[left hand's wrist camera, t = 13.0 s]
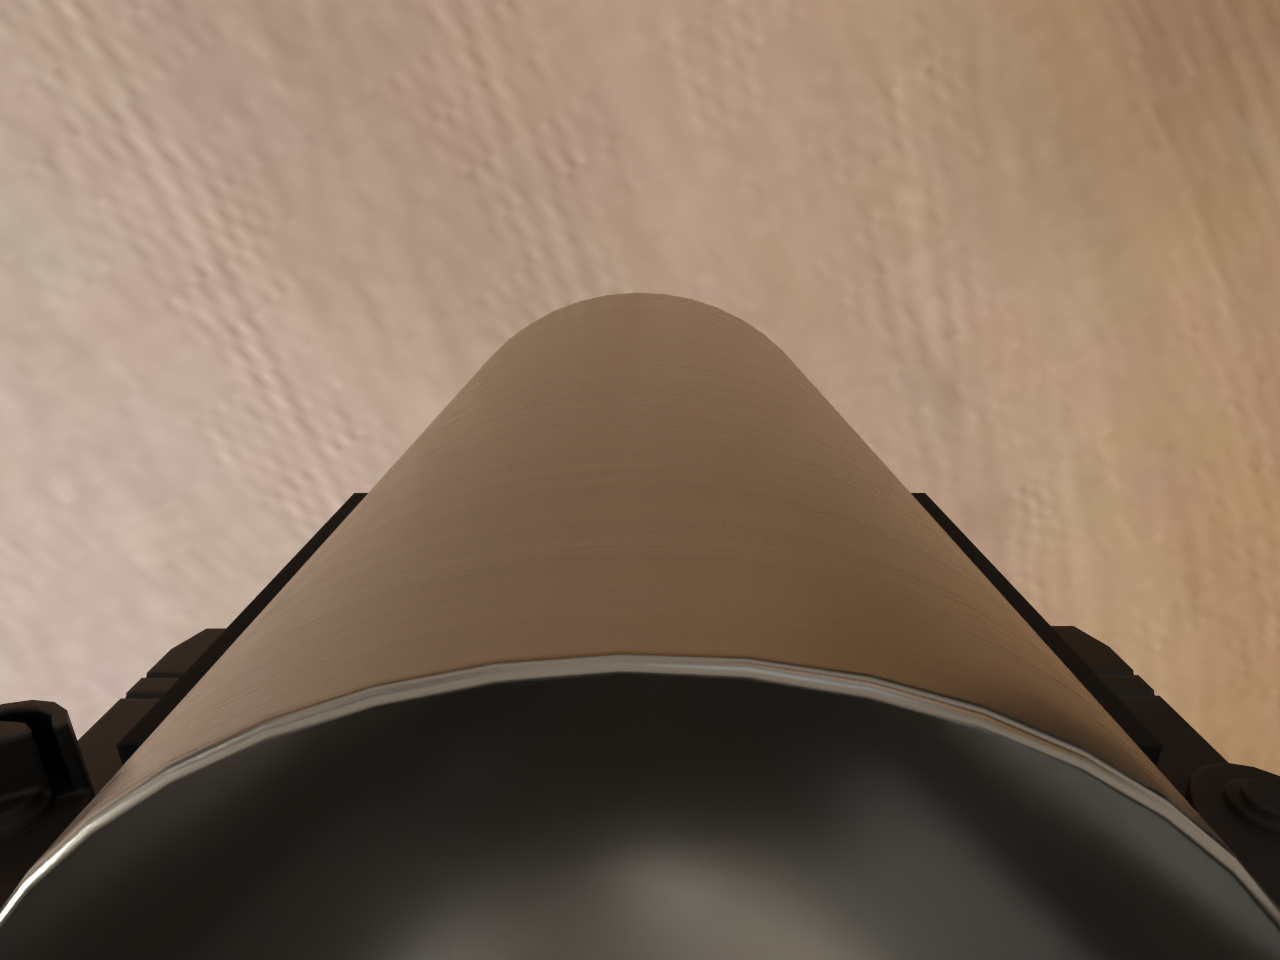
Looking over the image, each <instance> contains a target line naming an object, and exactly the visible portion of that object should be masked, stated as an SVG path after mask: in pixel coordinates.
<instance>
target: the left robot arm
mask: <svg viewBox="0 0 1280 960" xmlns="http://www.w3.org/2000/svg"><path fill="white" fill-rule="evenodd" d="M367 494H368V493H354V494H353V495H352V496H351V497H350V498H349V499H348V500H347V501H346V503H345V504H344V505H343V506H342V507H341V508H340V509H339V510H338V511H337V512H336V513H335V514H334V515H333V516H332V517H331V518H330V519H329V521H328V522H327V523H326V524H325V525H324V526H323V527H322V528H321V529H320V530H319V531H318V532H317V533H316V534H315V535H314V536H313V537H312V539H311V540H310V541H309V542H308V543H307V544H306V545H305V546H304V547H303V548H302V549H301V550H300V551H299V552H298V553H297V554H296V555H295V557H294V558H293V559H292V560H291V561H290V562H289V563H288V564H287V565H286V566H285V567H284V568H283V569H282V570H281V571H280V572H279V573H278V575H277V576H276V577H275V578H274V579H273V580H272V581H271V582H270V583H269V584H268V585H267V586H266V587H265V588H264V589H263V590H262V591H261V593H260V594H259V595H258V596H257V597H256V598H255V599H254V600H253V601H252V602H251V603H250V604H249V605H248V606H247V607H246V608H245V609H244V611H243V612H242V613H241V614H240V615H239V616H238V617H237V618H236V619H235V620H234V621H233V622H232V623H231V624H230V625H229V626H228V627H227V629H205V630H203V631H202V632H200V633H198V634H196V635H195V636H193V637H191V638H190V639H188V640H186V641H184V642H183V643H181V644H179V645H178V646H176V647H174V648H172V649H171V650H170V651H169V652H168V653H167V654H166V655H165V656H164V657H163V658H162V659H161V660H160V661H159V662H158V663H157V664H156V665H155V666H154V667H153V668H152V669H151V670H149V671H148V672H147V677H146V678H141V679H140V680H139V681H138V682H137V683H136V684H135V685H134V686H133V687H132V688H131V689H130V690H129V691H128V692H127V693H126V698H125V699H120V700H119V701H118V702H117V703H116V704H115V705H114V706H113V707H112V708H111V709H110V710H109V711H108V712H107V713H106V714H105V715H103V716H102V717H101V718H100V719H99V720H98V721H97V722H96V723H95V724H94V725H93V726H92V727H91V728H90V729H89V730H88V731H87V732H86V733H85V734H84V735H83V736H82V737H81V738H80V739H79V740H78V741H77V738H76V736H75V733H74V730H73V727H72V724H71V721H70V718H69V715H68V712H67V710H66V709H64V708H63V707H61V706H60V705H58V704H56V703H55V702H48V701H38V700H28V701H21V702H14V703H7V704H1V705H0V909H1V907H2V906H3V905H4V903H5V902H6V901H7V899H8V898H9V896H10V895H11V894H12V892H13V891H14V890H15V888H16V887H17V886H18V884H19V883H20V881H21V880H22V879H23V877H24V876H25V875H26V873H27V872H28V871H29V869H30V868H31V867H32V866H33V865H34V864H35V863H36V862H37V861H38V859H39V858H40V857H41V856H42V855H43V854H44V853H45V852H46V851H47V849H48V848H49V847H50V846H51V845H52V844H53V843H54V842H55V841H56V839H57V838H58V837H59V836H60V835H61V834H62V833H63V832H64V831H65V829H66V828H67V827H68V826H69V825H70V824H71V823H72V822H73V821H74V819H75V818H76V817H77V816H78V815H79V814H80V813H81V812H82V811H83V809H84V808H85V807H86V806H87V805H88V804H89V803H90V802H91V801H92V799H93V798H94V797H95V796H96V795H97V794H98V793H99V792H100V791H101V789H102V788H103V787H104V786H105V785H106V784H107V783H108V782H109V781H110V779H111V778H112V777H113V776H114V775H115V774H116V773H117V772H118V771H119V769H120V768H121V767H122V766H123V765H124V764H125V763H126V762H127V761H128V759H129V758H130V757H131V756H132V755H133V754H134V753H135V752H136V751H137V749H138V748H139V747H140V746H141V745H142V744H143V743H144V742H145V741H146V739H147V738H148V737H149V736H150V735H151V734H152V733H153V732H154V731H155V729H156V728H157V727H158V726H159V725H160V724H161V723H162V722H163V721H164V719H165V718H166V717H167V716H168V715H169V714H170V713H171V712H172V711H173V710H174V708H175V707H176V706H177V705H178V704H179V703H180V702H181V701H182V700H183V698H184V697H185V696H186V695H187V694H188V693H189V692H190V691H191V690H192V688H193V687H194V686H195V685H196V684H197V683H198V682H199V681H200V680H201V678H202V677H203V676H204V675H205V674H206V673H207V672H208V671H209V670H210V668H211V667H212V666H213V665H214V664H215V663H216V662H217V661H218V660H219V658H220V657H221V656H222V655H223V654H224V653H225V652H226V651H227V650H228V648H229V647H230V646H231V645H232V644H233V643H234V642H235V641H236V640H237V638H238V637H239V636H240V635H241V634H242V633H243V632H244V631H245V630H246V628H247V627H248V626H249V625H250V624H251V623H252V622H253V621H254V620H255V618H256V617H257V616H258V615H259V614H260V613H261V612H262V611H263V610H264V608H265V607H266V606H267V605H268V604H269V603H270V602H271V601H272V600H273V598H274V597H275V596H276V595H277V594H278V593H279V592H280V591H281V590H282V588H283V587H284V586H285V585H286V584H287V583H288V582H289V581H290V580H291V578H292V577H293V576H294V575H295V574H296V573H297V572H298V571H299V570H300V568H301V567H302V566H303V565H304V564H305V563H306V562H307V561H308V560H309V558H310V557H311V556H312V555H313V554H314V553H315V552H316V551H317V550H318V548H319V547H320V546H321V545H322V544H323V543H324V542H325V541H326V540H327V538H328V537H329V536H330V535H331V534H332V533H333V532H334V531H335V530H336V529H337V527H338V526H339V525H340V524H341V523H342V522H343V521H344V520H345V519H346V517H347V516H348V515H349V514H350V513H351V512H352V511H353V510H354V509H355V507H356V506H357V505H358V504H359V503H360V502H361V501H362V500H363V499H364V497H365V496H366V495H367ZM911 494H912V495H913V496H914V498H915V499H916V500H917V501H918V502H919V503H920V504H921V505H922V506H923V508H924V509H925V510H926V511H927V512H928V513H929V514H930V515H931V516H932V518H933V519H934V520H935V521H936V522H937V523H938V524H939V525H940V526H941V528H942V529H943V530H944V531H945V532H946V533H947V534H948V535H949V537H950V538H951V539H952V540H953V541H954V542H955V543H956V544H957V545H958V547H959V548H960V549H961V550H962V551H963V552H964V553H965V554H966V555H967V557H968V558H969V559H970V560H971V561H972V562H973V563H974V564H975V565H976V567H977V568H978V569H979V570H980V571H981V572H982V573H983V574H984V575H985V577H986V578H987V579H988V580H989V581H990V582H991V583H992V584H993V586H994V587H995V588H996V589H997V590H998V591H999V592H1000V593H1001V594H1002V596H1003V597H1004V598H1005V599H1006V600H1007V601H1008V602H1009V603H1010V604H1011V606H1012V607H1013V608H1014V609H1015V610H1016V611H1017V612H1018V613H1019V614H1020V616H1021V617H1022V618H1023V619H1024V620H1025V621H1026V622H1027V623H1028V624H1029V626H1030V627H1031V628H1032V629H1033V630H1034V631H1035V632H1036V633H1037V635H1038V636H1039V637H1040V638H1041V639H1042V640H1043V641H1044V642H1045V643H1046V645H1047V646H1048V647H1049V648H1050V649H1051V650H1052V651H1053V652H1054V653H1055V655H1056V656H1057V657H1058V658H1059V659H1060V660H1061V661H1062V662H1063V663H1064V665H1065V666H1066V667H1067V668H1068V669H1069V670H1070V671H1071V672H1072V673H1073V675H1074V676H1075V677H1076V678H1077V679H1078V680H1079V681H1080V682H1081V684H1082V685H1083V686H1084V687H1085V688H1086V689H1087V690H1088V691H1089V692H1090V694H1091V695H1092V696H1093V697H1094V698H1095V699H1096V700H1097V701H1098V702H1099V704H1100V705H1101V706H1102V707H1103V708H1104V709H1105V710H1106V711H1107V712H1108V714H1109V715H1110V716H1111V717H1112V718H1113V719H1114V720H1115V721H1116V722H1117V724H1118V725H1119V726H1120V727H1121V728H1122V729H1123V730H1124V731H1125V733H1126V734H1127V735H1128V736H1129V737H1130V738H1131V739H1132V740H1133V741H1134V743H1135V744H1136V745H1137V746H1138V747H1139V748H1140V749H1141V750H1142V751H1143V753H1144V754H1145V755H1146V756H1147V757H1148V758H1149V759H1150V760H1151V761H1152V763H1153V764H1154V765H1155V766H1156V767H1157V768H1158V769H1159V770H1160V771H1161V773H1162V774H1163V775H1164V776H1165V777H1166V778H1167V779H1168V780H1169V781H1170V783H1171V784H1172V785H1173V786H1174V787H1175V788H1176V789H1177V790H1178V792H1179V793H1180V794H1181V795H1182V796H1183V797H1184V798H1185V799H1186V800H1187V802H1188V803H1189V804H1190V805H1191V806H1192V807H1193V808H1194V809H1195V810H1196V812H1197V813H1198V814H1199V815H1200V816H1201V817H1202V818H1203V819H1204V820H1205V822H1206V823H1207V824H1208V825H1209V826H1210V827H1211V828H1212V829H1213V830H1214V832H1215V833H1216V834H1217V835H1218V836H1219V837H1220V838H1221V839H1222V841H1223V842H1224V843H1225V844H1226V845H1227V846H1228V847H1229V848H1230V849H1231V851H1232V852H1233V853H1234V854H1235V855H1236V856H1237V858H1238V859H1239V860H1240V861H1241V862H1242V864H1243V865H1244V866H1245V867H1246V868H1247V870H1248V871H1249V872H1250V873H1251V874H1252V876H1253V877H1254V878H1255V879H1256V881H1257V882H1258V883H1259V884H1260V885H1261V887H1262V888H1263V889H1264V890H1265V891H1266V893H1267V894H1268V895H1269V896H1270V897H1271V899H1272V900H1273V901H1274V902H1275V903H1276V905H1277V906H1278V907H1279V908H1280V776H1278V775H1275V774H1272V773H1269V772H1266V771H1263V770H1260V769H1258V768H1255V767H1250V766H1244V765H1237V764H1231V763H1228V762H1227V761H1226V760H1225V759H1224V758H1223V757H1222V756H1221V755H1220V754H1219V753H1218V752H1217V751H1216V750H1215V749H1214V748H1213V747H1212V746H1211V745H1210V744H1209V743H1208V742H1207V741H1205V740H1204V739H1203V738H1202V737H1201V736H1200V735H1199V734H1198V733H1197V732H1196V731H1195V730H1194V729H1193V728H1192V727H1191V726H1190V725H1189V724H1188V723H1187V722H1186V721H1185V720H1184V719H1183V718H1182V717H1181V716H1180V715H1179V714H1178V713H1177V712H1176V711H1175V710H1174V709H1173V708H1172V707H1170V706H1169V705H1168V704H1167V703H1166V702H1165V701H1164V700H1163V699H1162V698H1161V697H1160V696H1155V695H1154V690H1153V689H1152V688H1151V687H1150V686H1149V685H1148V684H1147V683H1146V682H1145V681H1144V680H1143V679H1142V678H1141V677H1140V676H1139V675H1134V673H1133V670H1132V669H1131V668H1130V667H1129V666H1128V665H1127V664H1126V663H1125V662H1124V661H1123V660H1122V659H1121V658H1120V657H1119V656H1118V655H1117V654H1116V653H1115V652H1114V651H1113V650H1112V649H1111V648H1110V647H1109V646H1107V645H1105V644H1104V643H1102V642H1100V641H1098V640H1097V639H1095V638H1093V637H1091V636H1090V635H1088V634H1086V633H1085V632H1083V631H1081V630H1079V629H1078V628H1076V627H1074V626H1050V625H1049V624H1048V623H1047V622H1046V621H1045V620H1044V619H1043V617H1042V616H1041V615H1040V614H1039V613H1038V612H1037V611H1036V610H1035V609H1034V608H1033V607H1032V606H1031V605H1030V604H1029V603H1028V602H1027V601H1026V599H1025V598H1024V597H1023V596H1022V595H1021V594H1020V593H1019V592H1018V591H1017V590H1016V589H1015V588H1014V587H1013V586H1012V585H1011V584H1010V583H1009V581H1008V580H1007V579H1006V578H1005V577H1004V576H1003V575H1002V574H1001V573H1000V572H999V571H998V570H997V569H996V568H995V567H994V566H993V564H992V563H991V562H990V561H989V560H988V559H987V558H986V557H985V556H984V555H983V554H982V553H981V552H980V551H979V550H978V549H977V548H976V546H975V545H974V544H973V543H972V542H971V541H970V540H969V539H968V538H967V537H966V536H965V535H964V534H963V533H962V532H961V531H960V530H959V528H958V527H957V526H956V525H955V524H954V523H953V522H952V521H951V520H950V519H949V518H948V517H947V516H946V515H945V514H944V513H943V512H942V510H941V509H940V508H939V507H938V506H937V505H936V504H935V503H934V502H933V501H932V500H931V499H930V498H929V497H928V496H927V495H926V494H925V493H911Z"/></svg>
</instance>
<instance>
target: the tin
mask: <svg viewBox="0 0 1280 960" xmlns="http://www.w3.org/2000/svg"><path fill="white" fill-rule="evenodd" d="M0 960H1280V908H1279V907H1278V906H1277V905H1276V903H1275V902H1274V901H1273V900H1272V899H1271V897H1270V896H1269V895H1268V894H1267V893H1266V891H1265V890H1264V889H1263V888H1262V887H1261V885H1260V884H1259V883H1258V882H1257V881H1256V879H1255V878H1254V877H1253V876H1252V874H1251V873H1250V872H1249V871H1248V870H1247V868H1246V867H1245V866H1244V865H1243V864H1242V862H1241V861H1240V860H1239V859H1238V858H1237V856H1236V855H1235V854H1234V853H1233V852H1232V851H1231V849H1230V848H1229V847H1228V846H1227V845H1226V844H1225V843H1224V842H1223V841H1222V839H1221V838H1220V837H1219V836H1218V835H1217V834H1216V833H1215V832H1214V830H1213V829H1212V828H1211V827H1210V826H1209V825H1208V824H1207V823H1206V822H1205V820H1204V819H1203V818H1202V817H1201V816H1200V815H1199V814H1198V813H1197V812H1196V810H1195V809H1194V808H1193V807H1192V806H1191V805H1190V804H1189V803H1188V802H1187V800H1186V799H1185V798H1184V797H1183V796H1182V795H1181V794H1180V793H1179V792H1178V790H1177V789H1176V788H1175V787H1174V786H1173V785H1172V784H1171V783H1170V781H1169V780H1168V779H1167V778H1166V777H1165V776H1164V775H1163V774H1162V773H1161V771H1160V770H1159V769H1158V768H1157V767H1156V766H1155V765H1154V764H1153V763H1152V761H1151V760H1150V759H1149V758H1148V757H1147V756H1146V755H1145V754H1144V753H1143V751H1142V750H1141V749H1140V748H1139V747H1138V746H1137V745H1136V744H1135V743H1134V741H1133V740H1132V739H1131V738H1130V737H1129V736H1128V735H1127V734H1126V733H1125V731H1124V730H1123V729H1122V728H1121V727H1120V726H1119V725H1118V724H1117V722H1116V721H1115V720H1114V719H1113V718H1112V717H1111V716H1110V715H1109V714H1108V712H1107V711H1106V710H1105V709H1104V708H1103V707H1102V706H1101V705H1100V704H1099V702H1098V701H1097V700H1096V699H1095V698H1094V697H1093V696H1092V695H1091V694H1090V692H1089V691H1088V690H1087V689H1086V688H1085V687H1084V686H1083V685H1082V684H1081V682H1080V681H1079V680H1078V679H1077V678H1076V677H1075V676H1074V675H1073V673H1072V672H1071V671H1070V670H1069V669H1068V668H1067V667H1066V666H1065V665H1064V663H1063V662H1062V661H1061V660H1060V659H1059V658H1058V657H1057V656H1056V655H1055V653H1054V652H1053V651H1052V650H1051V649H1050V648H1049V647H1048V646H1047V645H1046V643H1045V642H1044V641H1043V640H1042V639H1041V638H1040V637H1039V636H1038V635H1037V633H1036V632H1035V631H1034V630H1033V629H1032V628H1031V627H1030V626H1029V624H1028V623H1027V622H1026V621H1025V620H1024V619H1023V618H1022V617H1021V616H1020V614H1019V613H1018V612H1017V611H1016V610H1015V609H1014V608H1013V607H1012V606H1011V604H1010V603H1009V602H1008V601H1007V600H1006V599H1005V598H1004V597H1003V596H1002V594H1001V593H1000V592H999V591H998V590H997V589H996V588H995V587H994V586H993V584H992V583H991V582H990V581H989V580H988V579H987V578H986V577H985V575H984V574H983V573H982V572H981V571H980V570H979V569H978V568H977V567H976V565H975V564H974V563H973V562H972V561H971V560H970V559H969V558H968V557H967V555H966V554H965V553H964V552H963V551H962V550H961V549H960V548H959V547H958V545H957V544H956V543H955V542H954V541H953V540H952V539H951V538H950V537H949V535H948V534H947V533H946V532H945V531H944V530H943V529H942V528H941V526H940V525H939V524H938V523H937V522H936V521H935V520H934V519H933V518H932V516H931V515H930V514H929V513H928V512H927V511H926V510H925V509H924V508H923V506H922V505H921V504H920V503H919V502H918V501H917V500H916V499H915V498H914V496H913V495H912V494H911V493H910V492H909V491H908V490H907V489H906V488H905V486H904V485H903V484H902V483H901V482H900V481H899V480H898V479H897V478H896V476H895V475H894V474H893V473H892V472H891V471H890V470H889V469H888V467H887V466H886V465H885V464H884V463H883V462H882V461H881V460H880V459H879V457H878V456H877V455H876V454H875V453H874V452H873V451H872V450H871V449H870V447H869V446H868V445H867V444H866V443H865V442H864V441H863V440H862V439H861V437H860V436H859V435H858V434H857V433H856V432H855V431H854V430H853V429H852V427H851V426H850V425H849V424H848V423H847V422H846V421H845V420H844V418H843V417H842V416H841V415H840V414H839V413H838V412H837V411H836V410H835V408H834V407H833V406H832V405H831V404H830V403H829V402H828V401H827V400H826V398H825V397H824V396H823V395H822V394H821V393H820V392H819V391H818V390H817V388H816V387H815V386H814V385H813V384H812V383H811V382H810V381H809V380H808V378H807V377H806V376H805V375H804V374H803V373H802V372H801V371H800V369H799V368H798V367H797V366H796V365H795V364H794V363H793V362H792V361H791V359H790V358H789V357H788V356H787V355H786V354H785V353H784V352H783V351H782V350H781V349H780V348H779V347H778V346H776V345H775V344H774V343H773V342H772V341H771V340H770V339H769V338H767V337H766V336H765V335H764V334H763V333H761V332H760V331H758V330H757V329H755V328H754V327H752V326H751V325H749V324H748V323H746V322H745V321H743V320H742V319H739V318H737V317H735V316H733V315H731V314H729V313H727V312H725V311H723V310H721V309H719V308H717V307H714V306H710V305H707V304H704V303H701V302H698V301H695V300H692V299H688V298H682V297H677V296H671V295H666V294H651V293H627V294H616V295H606V296H602V297H597V298H593V299H589V300H584V301H580V302H577V303H575V304H572V305H569V306H567V307H564V308H561V309H558V310H556V311H554V312H552V313H550V314H548V315H546V316H544V317H542V318H541V319H539V320H537V321H535V322H533V323H531V324H530V325H528V326H527V327H526V328H524V329H523V330H521V331H520V332H519V333H517V334H516V335H515V336H513V337H512V338H511V339H509V340H508V341H507V342H506V343H505V344H504V345H503V346H502V347H501V348H500V349H499V350H498V351H497V352H496V353H495V354H494V355H493V356H492V357H491V358H490V359H489V360H488V361H487V362H486V363H485V364H484V365H483V366H482V367H481V369H480V370H479V371H478V372H477V373H476V374H475V375H474V376H473V377H472V379H471V380H470V381H469V382H468V383H467V384H466V385H465V386H464V387H463V389H462V390H461V391H460V392H459V393H458V394H457V395H456V396H455V397H454V399H453V400H452V401H451V402H450V403H449V404H448V405H447V406H446V407H445V409H444V410H443V411H442V412H441V413H440V414H439V415H438V416H437V417H436V419H435V420H434V421H433V422H432V423H431V424H430V425H429V426H428V427H427V429H426V430H425V431H424V432H423V433H422V434H421V435H420V436H419V437H418V439H417V440H416V441H415V442H414V443H413V444H412V445H411V446H410V447H409V449H408V450H407V451H406V452H405V453H404V454H403V455H402V456H401V457H400V459H399V460H398V461H397V462H396V463H395V464H394V465H393V466H392V467H391V469H390V470H389V471H388V472H387V473H386V474H385V475H384V476H383V477H382V479H381V480H380V481H379V482H378V483H377V484H376V485H375V486H374V487H373V489H372V490H371V491H370V492H369V493H368V494H367V495H366V496H365V497H364V499H363V500H362V501H361V502H360V503H359V504H358V505H357V506H356V507H355V509H354V510H353V511H352V512H351V513H350V514H349V515H348V516H347V517H346V519H345V520H344V521H343V522H342V523H341V524H340V525H339V526H338V527H337V529H336V530H335V531H334V532H333V533H332V534H331V535H330V536H329V537H328V538H327V540H326V541H325V542H324V543H323V544H322V545H321V546H320V547H319V548H318V550H317V551H316V552H315V553H314V554H313V555H312V556H311V557H310V558H309V560H308V561H307V562H306V563H305V564H304V565H303V566H302V567H301V568H300V570H299V571H298V572H297V573H296V574H295V575H294V576H293V577H292V578H291V580H290V581H289V582H288V583H287V584H286V585H285V586H284V587H283V588H282V590H281V591H280V592H279V593H278V594H277V595H276V596H275V597H274V598H273V600H272V601H271V602H270V603H269V604H268V605H267V606H266V607H265V608H264V610H263V611H262V612H261V613H260V614H259V615H258V616H257V617H256V618H255V620H254V621H253V622H252V623H251V624H250V625H249V626H248V627H247V628H246V630H245V631H244V632H243V633H242V634H241V635H240V636H239V637H238V638H237V640H236V641H235V642H234V643H233V644H232V645H231V646H230V647H229V648H228V650H227V651H226V652H225V653H224V654H223V655H222V656H221V657H220V658H219V660H218V661H217V662H216V663H215V664H214V665H213V666H212V667H211V668H210V670H209V671H208V672H207V673H206V674H205V675H204V676H203V677H202V678H201V680H200V681H199V682H198V683H197V684H196V685H195V686H194V687H193V688H192V690H191V691H190V692H189V693H188V694H187V695H186V696H185V697H184V698H183V700H182V701H181V702H180V703H179V704H178V705H177V706H176V707H175V708H174V710H173V711H172V712H171V713H170V714H169V715H168V716H167V717H166V718H165V719H164V721H163V722H162V723H161V724H160V725H159V726H158V727H157V728H156V729H155V731H154V732H153V733H152V734H151V735H150V736H149V737H148V738H147V739H146V741H145V742H144V743H143V744H142V745H141V746H140V747H139V748H138V749H137V751H136V752H135V753H134V754H133V755H132V756H131V757H130V758H129V759H128V761H127V762H126V763H125V764H124V765H123V766H122V767H121V768H120V769H119V771H118V772H117V773H116V774H115V775H114V776H113V777H112V778H111V779H110V781H109V782H108V783H107V784H106V785H105V786H104V787H103V788H102V789H101V791H100V792H99V793H98V794H97V795H96V796H95V797H94V798H93V799H92V801H91V802H90V803H89V804H88V805H87V806H86V807H85V808H84V809H83V811H82V812H81V813H80V814H79V815H78V816H77V817H76V818H75V819H74V821H73V822H72V823H71V824H70V825H69V826H68V827H67V828H66V829H65V831H64V832H63V833H62V834H61V835H60V836H59V837H58V838H57V839H56V841H55V842H54V843H53V844H52V845H51V846H50V847H49V848H48V849H47V851H46V852H45V853H44V854H43V855H42V856H41V857H40V858H39V859H38V861H37V862H36V863H35V864H34V865H33V866H32V867H31V868H30V869H29V871H28V872H27V873H26V875H25V876H24V877H23V879H22V880H21V881H20V883H19V884H18V886H17V887H16V888H15V890H14V891H13V892H12V894H11V895H10V896H9V898H8V899H7V901H6V902H5V903H4V905H3V906H2V907H1V909H0Z"/></svg>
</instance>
